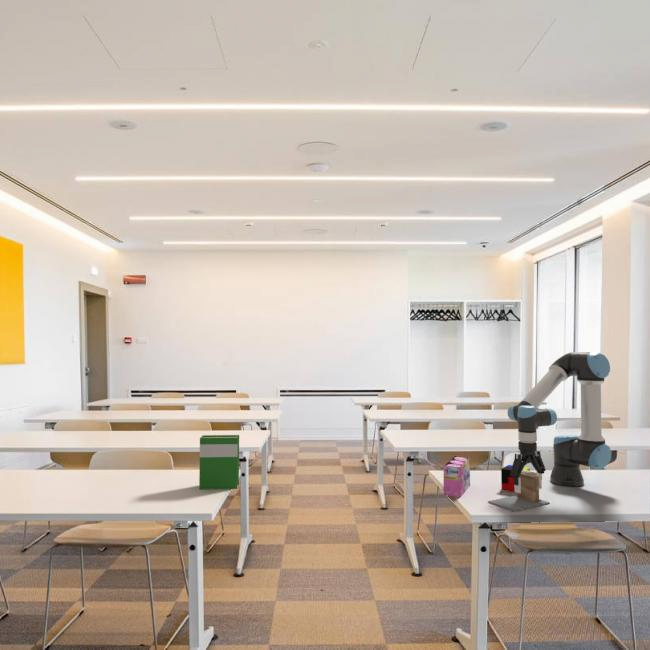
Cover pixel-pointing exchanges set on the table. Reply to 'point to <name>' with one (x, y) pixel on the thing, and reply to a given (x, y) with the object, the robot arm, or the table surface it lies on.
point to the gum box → (456, 476)
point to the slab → (529, 486)
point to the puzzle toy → (508, 478)
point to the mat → (516, 503)
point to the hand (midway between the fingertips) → (528, 490)
